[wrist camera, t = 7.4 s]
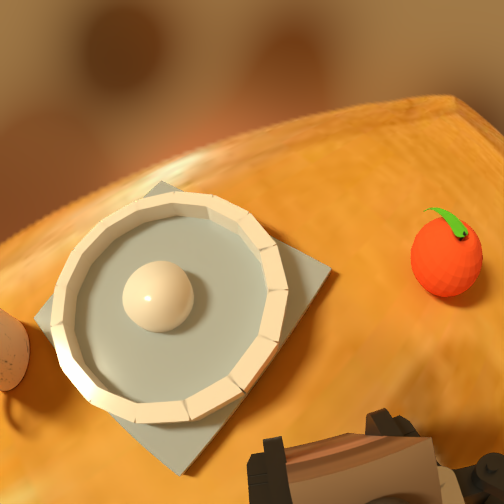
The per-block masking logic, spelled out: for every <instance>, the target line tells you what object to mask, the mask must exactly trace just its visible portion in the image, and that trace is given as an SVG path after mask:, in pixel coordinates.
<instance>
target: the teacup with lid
mask: <svg viewBox="0 0 504 504" xmlns="http://www.w3.org/2000/svg"><path fill="white" fill-rule="evenodd" d="M29 354H30V346H29V339H28V335H27V332H26V330H25V328H24V326H23V325H22V323H21V322H20V321H18V320H17V319H16V318H14V317H12V316H11V315H9V314H8V313H6V312H5V311H3V310H2V309H1V308H0V391H8V390H11V389H13V388H14V387H16V386H17V385H18V384H19V382H20V381H21V380H22V378H23V376H24V374H25V372H26V369H27V366H28V362H29Z"/></svg>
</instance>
